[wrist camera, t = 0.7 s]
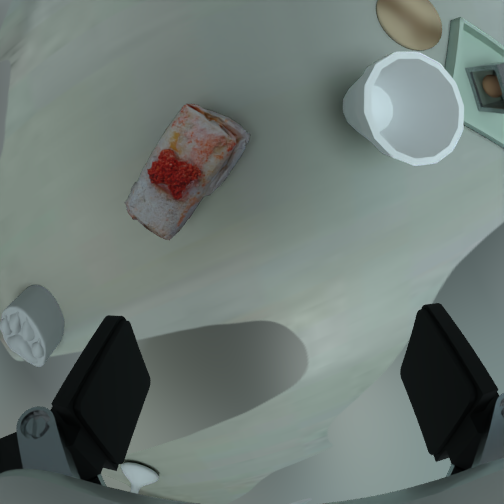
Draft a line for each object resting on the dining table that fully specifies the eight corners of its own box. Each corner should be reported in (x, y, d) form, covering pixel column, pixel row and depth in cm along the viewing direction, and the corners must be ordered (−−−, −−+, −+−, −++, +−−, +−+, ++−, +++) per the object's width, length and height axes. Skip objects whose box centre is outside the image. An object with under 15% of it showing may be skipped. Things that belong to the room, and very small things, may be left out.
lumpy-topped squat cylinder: (21, 321, 48) (-2, 347, 40) (23, 272, 43) (-6, 298, 35) (61, 348, 50) (40, 378, 42) (68, 302, 45) (42, 333, 37)
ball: (479, 70, 27) (493, 69, 24) (495, 81, 27) (509, 81, 24) (476, 91, 28) (490, 91, 25) (492, 101, 28) (506, 102, 25)
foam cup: (320, 132, 33) (349, 142, 21) (338, 59, 29) (376, 33, 17) (393, 157, 34) (448, 180, 22) (411, 88, 30) (473, 82, 18)
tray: (450, 20, 25) (460, 16, 22) (534, 80, 26) (544, 81, 23) (436, 111, 31) (446, 111, 28) (521, 160, 31) (531, 163, 29)
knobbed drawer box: (464, 68, 27) (499, 64, 20) (492, 62, 26) (527, 60, 19) (478, 111, 29) (514, 115, 22) (504, 103, 28) (540, 107, 21)
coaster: (380, -22, 24) (382, -24, 23) (442, 7, 24) (444, 6, 24) (371, 33, 27) (372, 32, 27) (435, 61, 28) (437, 61, 27)
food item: (198, 96, 32) (175, 90, 23) (257, 133, 34) (254, 139, 25) (141, 192, 37) (106, 217, 28) (194, 225, 39) (173, 261, 30)
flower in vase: (119, 465, 70) (98, 531, 48) (127, 454, 66) (104, 529, 44) (158, 481, 73) (143, 547, 50) (170, 472, 69) (154, 546, 46)
